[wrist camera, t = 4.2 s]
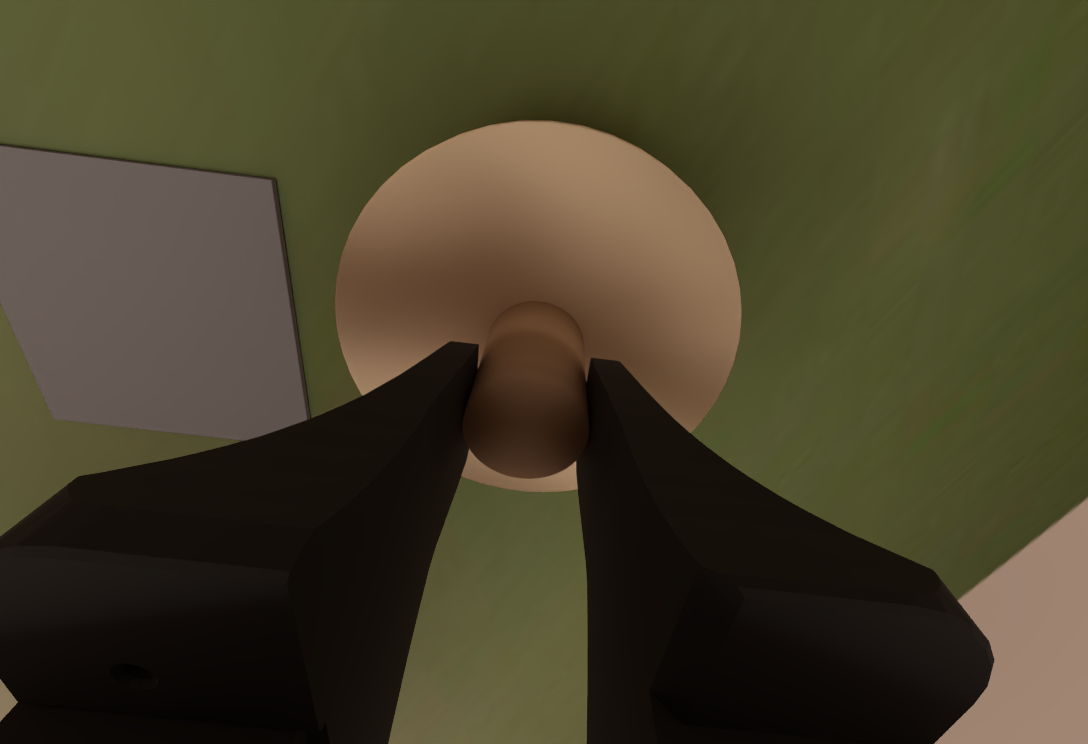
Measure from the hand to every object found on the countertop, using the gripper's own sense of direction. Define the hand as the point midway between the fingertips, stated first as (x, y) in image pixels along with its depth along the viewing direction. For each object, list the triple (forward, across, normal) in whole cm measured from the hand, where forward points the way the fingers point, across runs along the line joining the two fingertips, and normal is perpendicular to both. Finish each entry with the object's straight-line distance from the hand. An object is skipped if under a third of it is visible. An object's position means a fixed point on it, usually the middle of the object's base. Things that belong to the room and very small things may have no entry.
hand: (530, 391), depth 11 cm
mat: (+9, +16, +4) cm, 19 cm away
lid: (+3, 0, 0) cm, 3 cm away
